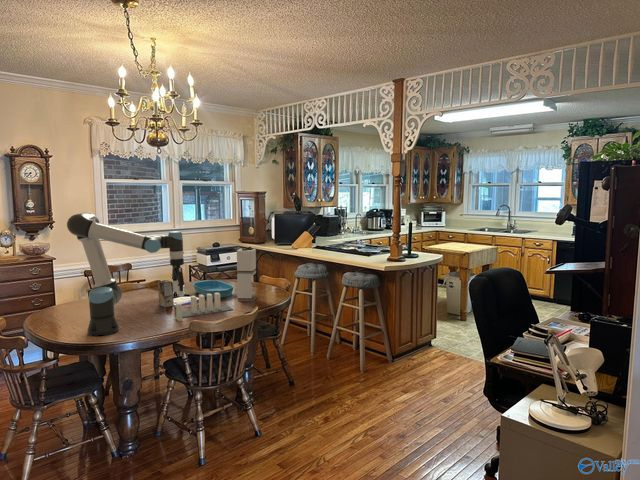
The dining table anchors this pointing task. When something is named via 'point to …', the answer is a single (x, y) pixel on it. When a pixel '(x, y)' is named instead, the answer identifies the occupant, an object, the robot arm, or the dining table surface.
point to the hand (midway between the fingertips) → (178, 293)
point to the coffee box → (165, 293)
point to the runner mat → (189, 313)
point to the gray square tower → (246, 274)
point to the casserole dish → (213, 288)
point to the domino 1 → (179, 311)
